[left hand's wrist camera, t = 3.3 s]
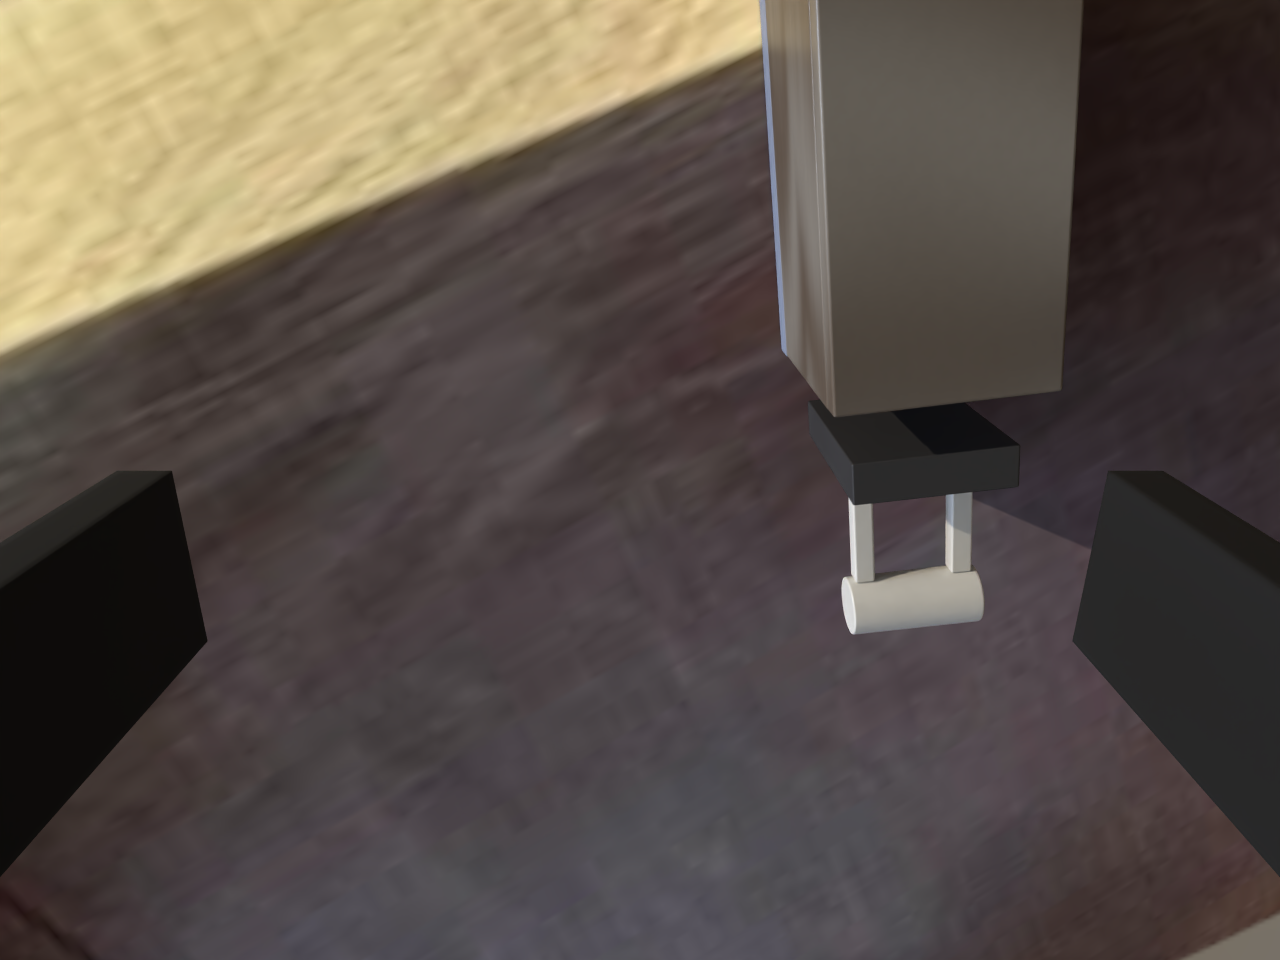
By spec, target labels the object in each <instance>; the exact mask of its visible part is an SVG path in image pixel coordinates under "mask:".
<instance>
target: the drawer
mask: <svg viewBox="0 0 1280 960" xmlns="http://www.w3.org/2000/svg"><path fill="white" fill-rule="evenodd" d="M989 400H990V399H989ZM980 401H982V400H980ZM972 402H973V401H972ZM808 413H809V432H810V436H811V437H812V439H813V441H814V442H815V444H816V445H817V447H818V449H819V450H820V452H821V454H822V455H823V457H824V458H825V460H826V462H827V463H828V465H829V467H830V468H831V470H832V471H833V473H834V475H835V476H836V478H837V479H838V481H839V483H840V484H841V486H842V488H843V489H844V491H845V492H846V494H847V496H848V497H849V521H850V547H851V574H852V576H849V577H844V578H843V581H842V601H843V609H844V614H845V619H846V622H847V625H848V628H849V630H850V632H851V633H852V634H862V633H871V632H880V631H890V630H899V629H908V628H917V627H926V626H936V625H945V624H954V623H963V622H973V621H979V620H980V619H981V618H982V617H983V613H984V593H983V587H982V583H981V580H980V577H979V575H978V572H977V570H976V569H975V567H974V566H973V565H972V564H971V544H972V492H978V491H986V490H995V489H1004V488H1013V487H1018V486H1019V465H1020V445H1019V444H1018V443H1016V442H1015V441H1014V440H1013V439H1011V438H1010V437H1009V436H1007V435H1006V434H1005V433H1003V432H1002V431H1001V430H999V429H998V428H997V427H996V426H994V425H993V424H992V423H990V422H989V421H988V420H986V419H985V418H984V417H982V416H981V415H980V414H978V413H977V412H976V411H975V410H973V409H972V408H971V407H969V406H968V405H967V404H965V403H964V402H963V403H955V404H946V405H938V406H929V407H921V408H912V409H904V410H896V411H887V412H879V413H870V414H862V415H853V416H845V417H834V416H833V415H832V414H831V412H830V411H829V410H828V409H827V408H826V407H825V405H824V404H823V403H822V401H821V400H814V401H809V402H808ZM943 495H946V565H947V566H939V567H930V568H921V569H912V570H903V571H894V572H885V573H876V574H875V568H874V531H873V503H881V502H890V501H899V500H908V499H916V498H925V497H934V496H943Z"/></svg>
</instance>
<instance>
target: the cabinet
mask: <svg viewBox="0 0 1280 960" xmlns="http://www.w3.org/2000/svg"><path fill="white" fill-rule="evenodd" d="M1083 9H1084V0H760V15H761V31H762V46H763V62H764V78H765V93H766V109H767V125H768V141H769V156H770V172H771V188H772V203H773V219H774V235H775V251H776V266H777V282H778V298H779V313H780V329H781V345H782V351H783V352H784V353H785V355H786V356H788V357H789V358H790V360H791V361H792V362H793V364H794V365H795V366H796V368H797V369H798V370H799V372H800V373H801V374H802V376H803V377H804V378H805V380H806V381H807V382H808V384H809V385H810V386H811V388H812V389H813V390H814V392H815V393H816V394H817V396H818V397H819V399H820V400H821V401H822V403H823V404H824V405H825V407H826V408H827V409H828V410H829V411H830V412H831V414H832V415H833V416H834V417H845V416H853V415H862V414H870V413H879V412H887V411H896V410H904V409H912V408H921V407H929V406H938V405H946V404H955V403H963V402H972V401H980V400H989V399H997V398H1006V397H1014V396H1023V395H1031V394H1040V393H1048V392H1057V391H1061V390H1062V384H1063V366H1064V348H1065V330H1066V312H1067V294H1068V277H1069V259H1070V241H1071V223H1072V205H1073V187H1074V170H1075V152H1076V134H1077V116H1078V98H1079V80H1080V62H1081V45H1082V27H1083Z"/></svg>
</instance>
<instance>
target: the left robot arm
mask: <svg viewBox="0 0 1280 960" xmlns="http://www.w3.org/2000/svg"><path fill="white" fill-rule="evenodd" d="M206 642H207V636H206V632H205V627H204V622H203V617H202V613H201V608H200V603H199V598H198V594H197V589H196V584H195V579H194V574H193V570H192V565H191V560H190V555H189V551H188V546H187V541H186V536H185V532H184V527H183V522H182V517H181V513H180V508H179V503H178V498H177V493H176V489H175V484H174V479H173V474H172V471H116V472H115V473H113V474H111V475H110V476H108V477H106V478H105V479H103V480H102V481H100V482H98V483H97V484H95V485H93V486H92V487H90V488H89V489H87V490H85V491H84V492H82V493H80V494H79V495H77V496H76V497H74V498H72V499H71V500H69V501H67V502H66V503H64V504H63V505H61V506H59V507H58V508H56V509H54V510H53V511H51V512H50V513H48V514H46V515H45V516H43V517H41V518H40V519H38V520H37V521H35V522H33V523H32V524H30V525H28V526H27V527H25V528H24V529H22V530H20V531H19V532H17V533H15V534H14V535H12V536H11V537H9V538H7V539H6V540H4V541H2V542H1V543H0V877H1V875H2V874H3V873H4V872H5V871H6V870H7V869H8V867H9V866H10V865H11V864H12V863H13V862H14V861H15V860H16V858H17V857H18V856H19V855H20V854H21V853H22V852H23V850H24V849H25V848H26V847H27V846H28V845H29V844H30V842H31V841H32V840H33V839H34V838H35V837H36V836H37V834H38V833H39V832H40V831H41V830H42V829H43V828H44V827H45V825H46V824H47V823H48V822H49V821H50V820H51V819H52V817H53V816H54V815H55V814H56V813H57V812H58V811H59V809H60V808H61V807H62V806H63V805H64V804H65V803H66V802H67V800H68V799H69V798H70V797H71V796H72V795H73V794H74V792H75V791H76V790H77V789H78V788H79V787H80V786H81V784H82V783H83V782H84V781H85V780H86V779H87V778H88V776H89V775H90V774H91V773H92V772H93V771H94V770H95V769H96V767H97V766H98V765H99V764H100V763H101V762H102V761H103V759H104V758H105V757H106V756H107V755H108V754H109V753H110V751H111V750H112V749H113V748H114V747H115V746H116V745H117V744H118V742H119V741H120V740H121V739H122V738H123V737H124V736H125V734H126V733H127V732H128V731H129V730H130V729H131V728H132V726H133V725H134V724H135V723H136V722H137V721H138V720H139V718H140V717H141V716H142V715H143V714H144V713H145V712H146V711H147V709H148V708H149V707H150V706H151V705H152V704H153V703H154V701H155V700H156V699H157V698H158V697H159V696H160V695H161V693H162V692H163V691H164V690H165V689H166V688H167V687H168V685H169V684H170V683H171V682H172V681H173V680H174V679H175V678H176V676H177V675H178V674H179V673H180V672H181V671H182V670H183V668H184V667H185V666H186V665H187V664H188V663H189V662H190V660H191V659H192V658H193V657H194V656H195V655H196V654H197V653H198V651H199V650H200V649H201V648H202V647H203V646H204V645H205V643H206ZM1073 642H1074V643H1075V645H1076V646H1077V647H1078V648H1079V649H1080V650H1081V651H1082V653H1083V654H1084V655H1085V656H1086V657H1087V658H1088V659H1089V660H1090V662H1091V663H1092V664H1093V665H1094V666H1095V667H1096V668H1097V670H1098V671H1099V672H1100V673H1101V674H1102V675H1103V676H1104V678H1105V679H1106V680H1107V681H1108V682H1109V683H1110V684H1111V685H1112V687H1113V688H1114V689H1115V690H1116V691H1117V692H1118V693H1119V695H1120V696H1121V697H1122V698H1123V699H1124V700H1125V701H1126V703H1127V704H1128V705H1129V706H1130V707H1131V708H1132V709H1133V711H1134V712H1135V713H1136V714H1137V715H1138V716H1139V717H1140V718H1141V720H1142V721H1143V722H1144V723H1145V724H1146V725H1147V726H1148V728H1149V729H1150V730H1151V731H1152V732H1153V733H1154V734H1155V736H1156V737H1157V738H1158V739H1159V740H1160V741H1161V742H1162V744H1163V745H1164V746H1165V747H1166V748H1167V749H1168V750H1169V751H1170V753H1171V754H1172V755H1173V756H1174V757H1175V758H1176V759H1177V761H1178V762H1179V763H1180V764H1181V765H1182V766H1183V767H1184V769H1185V770H1186V771H1187V772H1188V773H1189V774H1190V775H1191V776H1192V778H1193V779H1194V780H1195V781H1196V782H1197V783H1198V784H1199V786H1200V787H1201V788H1202V789H1203V790H1204V791H1205V792H1206V794H1207V795H1208V796H1209V797H1210V798H1211V799H1212V800H1213V802H1214V803H1215V804H1216V805H1217V806H1218V807H1219V808H1220V809H1221V811H1222V812H1223V813H1224V814H1225V815H1226V816H1227V817H1228V819H1229V820H1230V821H1231V822H1232V823H1233V824H1234V825H1235V827H1236V828H1237V829H1238V830H1239V831H1240V832H1241V833H1242V834H1243V836H1244V837H1245V838H1246V839H1247V840H1248V841H1249V842H1250V844H1251V845H1252V846H1253V847H1254V848H1255V849H1256V850H1257V852H1258V853H1259V854H1260V855H1261V856H1262V857H1263V858H1264V860H1265V861H1266V862H1267V863H1268V864H1269V865H1270V866H1271V867H1272V869H1273V870H1274V871H1275V872H1276V873H1277V874H1278V875H1279V877H1280V543H1279V542H1278V541H1276V540H1274V539H1273V538H1271V537H1269V536H1268V535H1266V534H1265V533H1263V532H1261V531H1260V530H1258V529H1256V528H1255V527H1253V526H1252V525H1250V524H1248V523H1247V522H1245V521H1243V520H1242V519H1240V518H1239V517H1237V516H1235V515H1234V514H1232V513H1230V512H1229V511H1227V510H1226V509H1224V508H1222V507H1221V506H1219V505H1217V504H1216V503H1214V502H1213V501H1211V500H1209V499H1208V498H1206V497H1204V496H1203V495H1201V494H1200V493H1198V492H1196V491H1195V490H1193V489H1191V488H1190V487H1188V486H1187V485H1185V484H1183V483H1182V482H1180V481H1178V480H1177V479H1175V478H1174V477H1172V476H1170V475H1169V474H1167V473H1165V472H1164V471H1108V474H1107V479H1106V484H1105V489H1104V493H1103V498H1102V503H1101V508H1100V513H1099V517H1098V522H1097V527H1096V532H1095V536H1094V541H1093V546H1092V551H1091V555H1090V560H1089V565H1088V570H1087V574H1086V579H1085V584H1084V589H1083V594H1082V598H1081V603H1080V608H1079V613H1078V617H1077V622H1076V627H1075V632H1074V636H1073Z"/></svg>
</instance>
